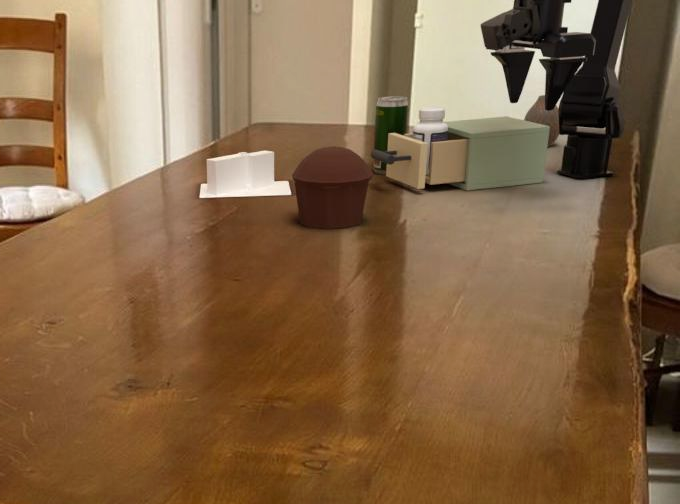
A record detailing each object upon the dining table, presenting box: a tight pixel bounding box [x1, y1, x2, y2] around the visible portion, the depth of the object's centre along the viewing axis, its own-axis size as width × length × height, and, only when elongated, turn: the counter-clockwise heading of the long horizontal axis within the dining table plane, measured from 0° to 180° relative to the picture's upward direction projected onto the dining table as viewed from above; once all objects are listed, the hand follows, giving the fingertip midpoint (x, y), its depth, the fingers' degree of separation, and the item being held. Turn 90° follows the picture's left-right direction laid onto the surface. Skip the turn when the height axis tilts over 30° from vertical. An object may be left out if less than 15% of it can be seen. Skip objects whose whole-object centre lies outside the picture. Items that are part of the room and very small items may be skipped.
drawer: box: [370, 132, 469, 190], centre depth 162 cm, size 17×11×7 cm
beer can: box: [372, 95, 409, 176], centre depth 172 cm, size 5×5×12 cm
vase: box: [523, 94, 560, 148], centre depth 189 cm, size 7×7×9 cm
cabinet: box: [443, 115, 550, 191], centre depth 164 cm, size 14×13×9 cm
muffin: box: [291, 146, 374, 230], centre depth 143 cm, size 12×11×10 cm
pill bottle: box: [412, 106, 448, 175], centre depth 161 cm, size 5×5×10 cm
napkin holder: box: [199, 150, 292, 199], centre depth 166 cm, size 15×11×6 cm
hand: (530, 106), depth 147 cm, fingers open, 9 cm apart
